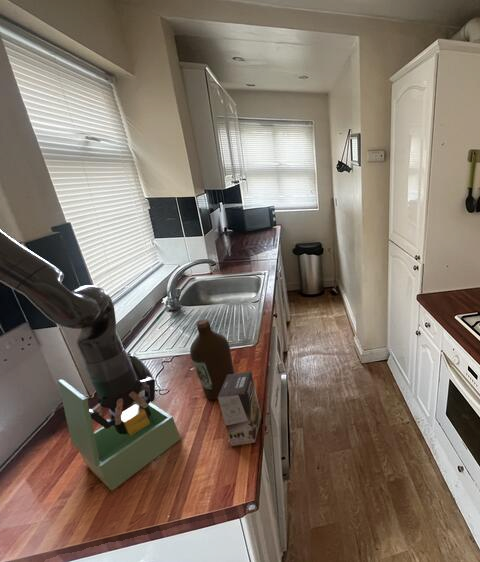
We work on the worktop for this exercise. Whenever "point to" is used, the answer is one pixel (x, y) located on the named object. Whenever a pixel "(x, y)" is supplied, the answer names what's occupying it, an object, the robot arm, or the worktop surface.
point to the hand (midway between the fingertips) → (135, 425)
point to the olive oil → (211, 359)
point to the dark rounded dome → (140, 371)
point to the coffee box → (240, 408)
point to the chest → (132, 448)
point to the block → (134, 419)
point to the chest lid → (79, 421)
